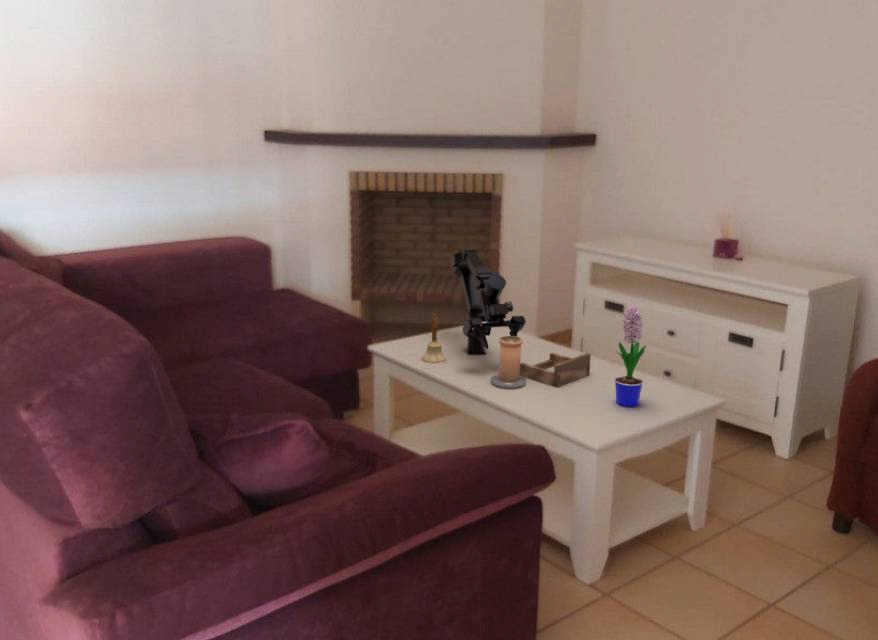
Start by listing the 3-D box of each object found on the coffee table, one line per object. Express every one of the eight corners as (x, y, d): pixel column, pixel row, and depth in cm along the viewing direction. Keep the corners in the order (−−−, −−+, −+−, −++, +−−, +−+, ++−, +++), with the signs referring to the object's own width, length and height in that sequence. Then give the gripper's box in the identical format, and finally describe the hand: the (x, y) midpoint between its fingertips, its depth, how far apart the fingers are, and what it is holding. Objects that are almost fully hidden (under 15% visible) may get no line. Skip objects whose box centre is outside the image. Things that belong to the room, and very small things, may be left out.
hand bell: (446, 363, 284) (447, 317, 280) (421, 363, 284) (422, 316, 280) (446, 355, 292) (447, 310, 288) (422, 355, 292) (422, 310, 288)
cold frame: (519, 375, 273) (520, 354, 271) (551, 364, 285) (553, 344, 283) (557, 387, 263) (558, 365, 261) (589, 374, 275) (590, 354, 273)
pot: (503, 374, 271) (504, 334, 267) (524, 377, 268) (526, 337, 264) (494, 380, 264) (495, 340, 261) (515, 384, 261) (517, 343, 258)
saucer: (488, 377, 271) (488, 373, 271) (523, 377, 272) (523, 373, 271) (493, 389, 260) (493, 385, 260) (528, 389, 261) (528, 385, 261)
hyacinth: (648, 400, 253) (657, 302, 245) (635, 411, 245) (644, 310, 237) (621, 394, 258) (628, 298, 250) (607, 404, 249) (614, 305, 241)
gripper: (469, 294, 269) (479, 337, 261) (525, 291, 273) (536, 333, 266) (461, 312, 278) (471, 354, 271) (515, 308, 283) (526, 350, 276)
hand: (501, 347), depth 271 cm, fingers open, 9 cm apart
